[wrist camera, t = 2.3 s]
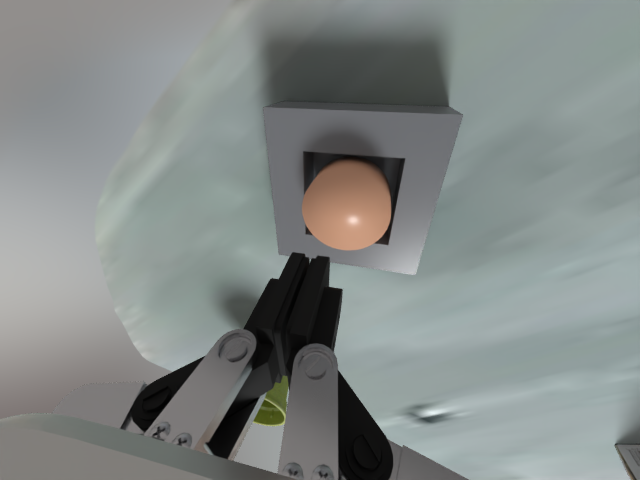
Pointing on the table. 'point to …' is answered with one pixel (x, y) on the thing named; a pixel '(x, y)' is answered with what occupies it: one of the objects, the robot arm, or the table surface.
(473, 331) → the table surface
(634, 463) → the coffee box
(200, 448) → the robot arm
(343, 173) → the push button
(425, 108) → the button box
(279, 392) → the plant pot
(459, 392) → the table surface
